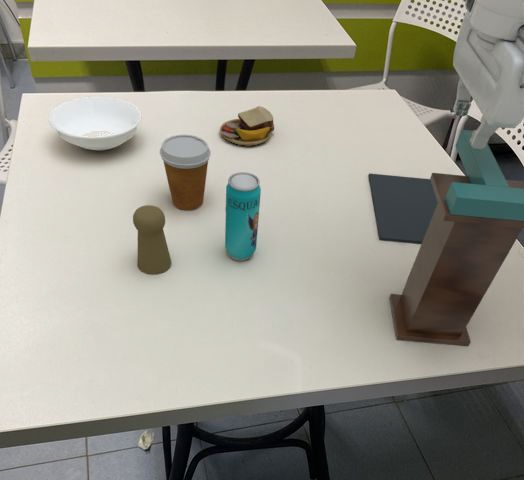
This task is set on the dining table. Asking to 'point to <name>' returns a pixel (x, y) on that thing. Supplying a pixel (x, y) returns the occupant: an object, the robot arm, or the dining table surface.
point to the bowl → (95, 121)
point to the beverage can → (242, 215)
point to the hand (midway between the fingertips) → (467, 129)
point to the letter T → (483, 186)
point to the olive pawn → (151, 240)
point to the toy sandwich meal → (249, 127)
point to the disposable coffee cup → (186, 169)
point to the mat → (402, 207)
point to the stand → (451, 270)
